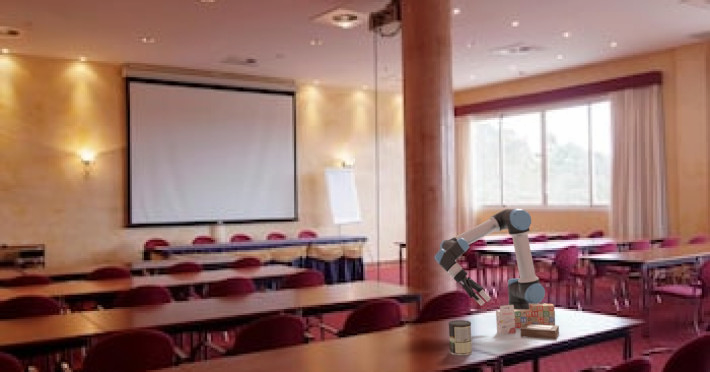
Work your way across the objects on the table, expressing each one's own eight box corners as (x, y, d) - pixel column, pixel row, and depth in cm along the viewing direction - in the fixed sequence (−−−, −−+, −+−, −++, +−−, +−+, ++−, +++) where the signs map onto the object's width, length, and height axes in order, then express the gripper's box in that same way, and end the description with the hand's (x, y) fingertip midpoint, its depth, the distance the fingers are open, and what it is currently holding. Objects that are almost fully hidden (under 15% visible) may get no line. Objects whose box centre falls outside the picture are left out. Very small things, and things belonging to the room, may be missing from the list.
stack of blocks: (515, 328, 343) (514, 305, 343) (513, 326, 349) (512, 303, 349) (555, 328, 341) (554, 305, 341) (553, 325, 347) (552, 303, 347)
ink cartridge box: (511, 331, 336) (509, 303, 337) (515, 332, 332) (514, 304, 332) (496, 332, 334) (495, 304, 334) (501, 334, 329) (499, 306, 330)
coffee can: (445, 353, 293) (444, 323, 294) (456, 349, 301) (455, 319, 302) (465, 356, 287) (463, 325, 287) (476, 351, 295) (475, 321, 295)
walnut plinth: (525, 331, 334) (525, 323, 334) (558, 333, 327) (558, 325, 327) (520, 336, 322) (520, 328, 322) (555, 338, 315) (555, 330, 315)
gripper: (459, 275, 356) (487, 303, 349) (446, 281, 334) (475, 311, 327) (468, 265, 354) (496, 293, 347) (455, 271, 331) (485, 301, 325)
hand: (486, 302), depth 337 cm, fingers open, 13 cm apart
